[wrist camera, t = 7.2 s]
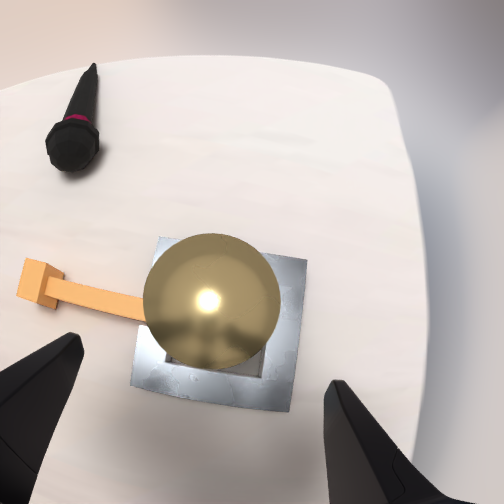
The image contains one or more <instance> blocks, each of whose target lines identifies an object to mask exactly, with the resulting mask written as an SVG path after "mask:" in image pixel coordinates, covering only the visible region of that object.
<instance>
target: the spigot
mask: <svg viewBox="0 0 504 504" xmlns="http://www.w3.org/2000/svg"><path fill="white" fill-rule="evenodd" d="M280 307H281V297H280V289H279V284H278V281H277V278H276V275H275V273H274V271H273V269H272V267H271V266H270V264H269V263H268V262H267V260H266V259H265V258H264V257H263V256H262V254H261V253H260V252H258V251H257V250H256V249H255V248H254V247H252V246H251V245H249V244H248V243H246V242H244V241H242V240H240V239H238V238H235V237H232V236H228V235H224V234H215V233H212V234H200V235H195V236H192V237H188V238H186V239H183V240H181V241H179V242H177V243H176V244H174V245H172V246H171V247H170V248H169V249H167V250H166V251H165V252H164V253H163V254H162V255H161V256H160V257H159V258H158V260H157V261H156V262H155V264H154V265H153V267H152V269H151V270H150V272H149V275H148V277H147V280H146V283H145V287H144V293H143V309H144V316H145V319H146V323H147V325H148V328H149V330H150V332H151V334H152V336H153V338H154V339H155V340H156V342H157V343H158V344H159V346H160V347H161V348H162V349H163V350H164V351H165V352H166V353H168V354H169V355H170V356H172V357H173V358H174V359H176V360H178V361H180V362H181V363H184V364H186V365H189V366H192V367H196V368H200V369H223V368H229V367H232V366H235V365H238V364H240V363H242V362H244V361H246V360H248V359H249V358H251V357H252V356H254V355H255V354H256V353H257V352H259V351H260V350H261V349H262V348H263V346H264V345H265V344H266V343H267V342H268V340H269V339H270V337H271V336H272V334H273V332H274V330H275V328H276V325H277V322H278V319H279V314H280Z"/></svg>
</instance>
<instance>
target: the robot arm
mask: <svg viewBox="0 0 504 504" xmlns="http://www.w3.org/2000/svg"><path fill="white" fill-rule="evenodd" d="M83 357H84V348H83V345H82V341H81V337H80V336H79V335H78V334H75V333H72V332H69V333H67V334H65V335H63V336H61V337H60V338H58V339H56V340H54V341H53V342H51V343H49V344H47V345H46V346H44V347H42V348H40V349H39V350H37V351H35V352H33V353H32V354H30V355H28V356H26V357H25V358H23V359H21V360H20V361H18V362H16V363H14V364H13V365H11V366H9V367H7V368H6V369H4V370H2V371H1V372H0V504H29V501H30V497H31V494H32V491H33V488H34V485H35V482H36V479H37V476H38V473H39V470H40V467H41V464H42V461H43V459H44V456H45V453H46V451H47V448H48V445H49V443H50V440H51V438H52V435H53V433H54V430H55V428H56V426H57V423H58V421H59V418H60V416H61V414H62V411H63V409H64V407H65V405H66V402H67V400H68V398H69V396H70V393H71V391H72V389H73V386H74V383H75V380H76V377H77V374H78V371H79V368H80V365H81V362H82V360H83ZM324 447H325V456H326V467H327V478H328V489H329V502H330V504H475V503H470V502H465V501H460V500H456V499H452V498H450V497H447V496H446V495H444V494H442V493H441V492H440V491H439V490H438V489H437V488H436V487H434V485H433V484H431V483H430V482H429V481H428V480H427V479H426V478H425V477H424V476H423V475H422V474H421V473H420V472H419V471H418V470H417V469H416V468H415V467H414V466H413V465H412V464H411V462H410V461H409V460H408V459H407V458H406V457H405V455H404V454H403V453H402V452H401V451H400V449H399V448H398V447H397V446H396V444H395V443H394V442H393V441H392V439H391V438H390V437H389V436H388V434H387V433H386V432H385V431H384V430H383V428H382V427H381V426H380V425H379V423H378V422H377V421H376V420H375V418H374V417H373V416H372V415H371V413H370V412H369V411H368V410H367V408H366V407H365V406H364V405H363V403H362V402H361V401H360V400H359V398H358V397H357V396H356V395H355V393H354V392H353V391H352V390H351V388H350V387H349V386H348V385H347V383H346V382H345V381H344V380H332V381H331V383H330V385H329V387H328V389H327V391H326V392H325V395H324ZM397 448H398V449H397Z"/></svg>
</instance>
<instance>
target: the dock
mask: <svg viewBox="0 0 504 504" xmlns="http://www.w3.org/2000/svg"><path fill="white" fill-rule="evenodd" d="M179 241H181V240H179V239H172V238H166V237H160V236H159V239H158V243H157V247H156V251H155V255H154V259H153V263H152V267H153V265H154V264H155V262H156V261H157V260H158V258H159V257H160V256H161V255H162V254H163V253H164V252H165V251H166V250H167V249H169V248H170V247H171V246H172V245H174V244H176V243H177V242H179ZM260 253H261V252H260ZM261 254H262V256H263V257H264V258H265V259H266V260H267V262H268V263H269V264H270V266H271V267H272V269H273V271H274V273H275V275H276V278H277V281H278V284H279V289H280V297H281V307H280V314H279V319H278V322H277V325H276V328H275V330H274V332H273V334H272V336H271V337H270V339H269V340H268V342H267V343H266V344H265V345H264V346H263V348H262V354H261V361H260V368H259V375H258V376H254V375H246V374H239V373H232V372H226V371H219V370H213V369H200V368H196V367H192V366H189V365H185V364H180V363H175V362H171V356H170V355H169V354H168V353H166V352H165V351H164V350H163V349H162V348H161V347H160V346H159V344H158V343H157V342H156V340H155V339H154V338H153V336H152V334H151V332H150V330H149V328H148V327H147V326H142V325H140V326H139V331H138V337H137V343H136V349H135V355H134V361H133V368H132V375H131V382H130V386H134V387H138V388H142V389H146V390H150V391H154V392H158V393H162V394H167V395H172V396H176V397H181V398H186V399H191V400H196V401H202V402H208V403H214V404H220V405H227V406H234V407H241V408H249V409H258V410H268V411H279V412H289V408H290V402H291V395H292V389H293V382H294V375H295V367H296V360H297V352H298V344H299V336H300V328H301V319H302V310H303V300H304V291H305V280H306V269H307V260H306V259H299V258H293V257H287V256H280V255H274V254H268V253H261ZM152 267H151V269H152Z"/></svg>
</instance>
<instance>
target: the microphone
mask: <svg viewBox="0 0 504 504" xmlns="http://www.w3.org/2000/svg"><path fill="white" fill-rule="evenodd" d="M97 78H98V75H97V71H96V64H95V63H93V64H92V65H91V66H90V68H89V69H88V70H87V71H86V72H84V74H83V75H82V76H81V78H80V80H79V83H78V85H77V87H76V89H75V91H74V94H73V96H72V98H71V100H70V103H69V105H68V108H67V110H66V112H65V115H64V117H63V120H62V121H61V122H58V123H56V124H55V125H54V126H53V128H52V129H51V131H50V132H49V134H48V135H47V138H46V140H45V142H46V148H47V154H48V155H49V157H50V161H51V164H52V165H54V166H55V167H56V168H57V169H58V170H60V171H66V172H75V171H78V170H81V169H84V167H85V166H86V165H87V164H88V163H89V161H90V160H91V159H92V158H93V157H94V155H95V154H96V153H97V152H98V151H99V132H98V131H97V129H96V128H95V127H94V126H93V125H92V116H93V107H94V99H95V92H96V85H97Z"/></svg>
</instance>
